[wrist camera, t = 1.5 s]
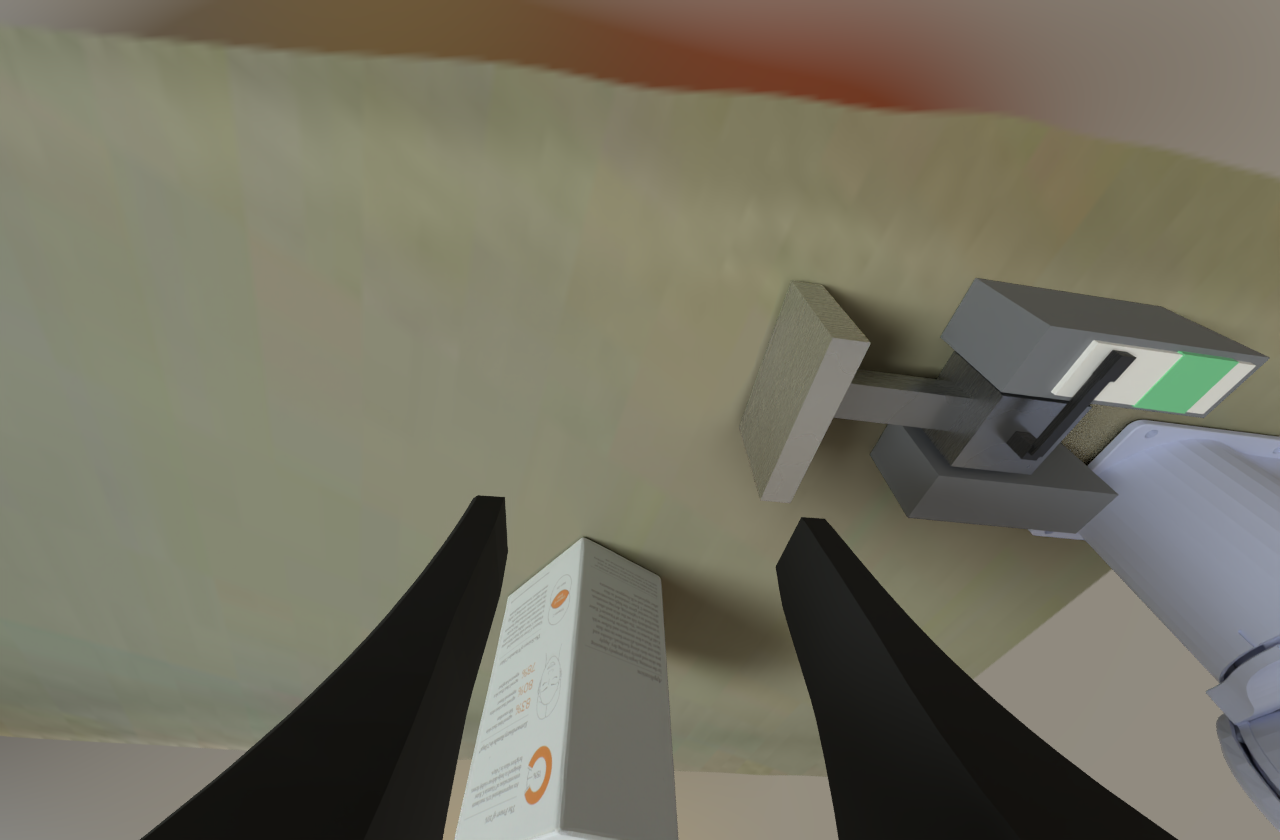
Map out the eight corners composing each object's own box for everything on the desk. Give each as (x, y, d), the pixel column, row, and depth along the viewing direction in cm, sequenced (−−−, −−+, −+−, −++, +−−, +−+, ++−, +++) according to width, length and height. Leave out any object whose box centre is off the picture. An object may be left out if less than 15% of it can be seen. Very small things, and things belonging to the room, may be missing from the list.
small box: (585, 628, 33) (563, 890, 22) (506, 594, 30) (441, 874, 20) (665, 576, 29) (683, 859, 19) (583, 532, 27) (553, 835, 16)
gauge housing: (1161, 306, 19) (1277, 361, 15) (1017, 471, 24) (1080, 538, 21) (975, 277, 18) (1055, 329, 14) (869, 454, 23) (910, 522, 20)
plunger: (1070, 303, 18) (1179, 363, 15) (959, 452, 23) (1020, 525, 19) (798, 261, 17) (842, 316, 13) (738, 427, 22) (760, 501, 18)
